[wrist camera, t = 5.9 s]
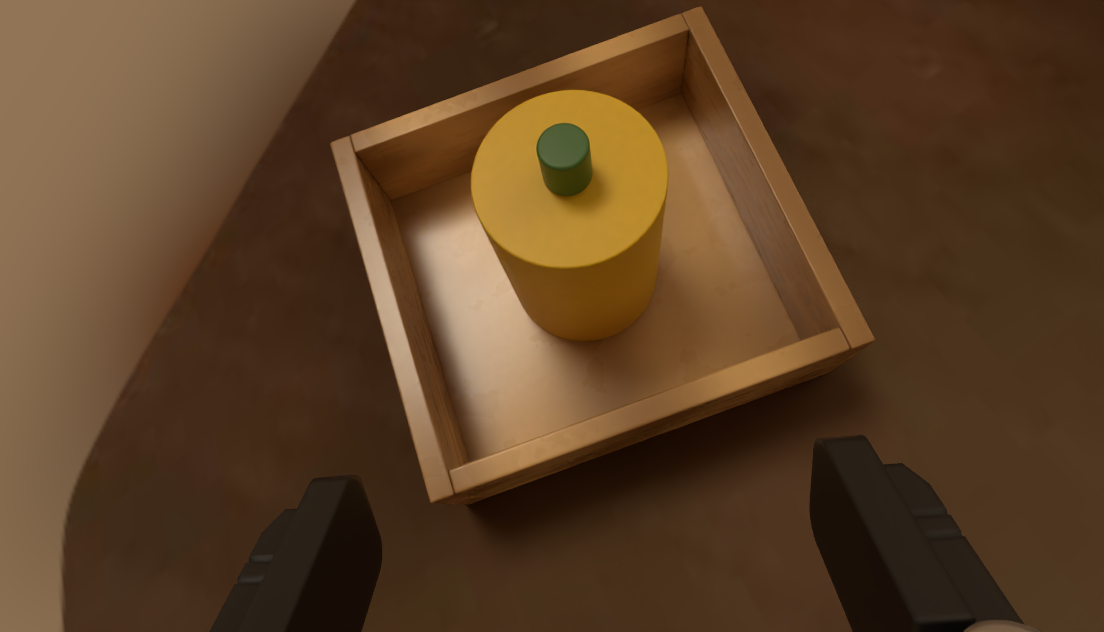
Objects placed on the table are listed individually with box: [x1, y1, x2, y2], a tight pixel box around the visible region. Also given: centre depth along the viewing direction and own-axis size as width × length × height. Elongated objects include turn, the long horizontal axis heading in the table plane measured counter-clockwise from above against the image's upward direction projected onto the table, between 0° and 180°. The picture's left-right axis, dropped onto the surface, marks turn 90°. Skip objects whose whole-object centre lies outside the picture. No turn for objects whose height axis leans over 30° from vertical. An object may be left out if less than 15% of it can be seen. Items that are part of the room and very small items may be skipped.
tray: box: [330, 6, 875, 505], centre depth 25 cm, size 15×14×5 cm
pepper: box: [471, 90, 669, 341], centre depth 22 cm, size 6×6×10 cm
